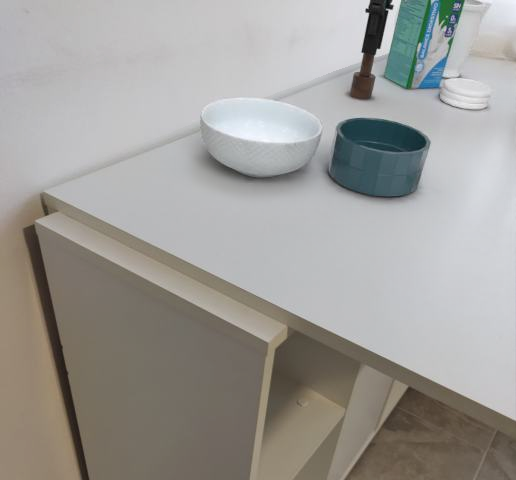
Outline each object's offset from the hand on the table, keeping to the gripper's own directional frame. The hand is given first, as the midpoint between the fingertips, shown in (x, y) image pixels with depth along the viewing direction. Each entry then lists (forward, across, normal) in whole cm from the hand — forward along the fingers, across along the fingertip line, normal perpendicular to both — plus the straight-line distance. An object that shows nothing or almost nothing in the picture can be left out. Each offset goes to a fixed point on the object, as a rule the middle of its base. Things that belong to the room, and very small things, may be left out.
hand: (371, 50), depth 103 cm
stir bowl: (+8, +39, +9) cm, 41 cm away
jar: (+9, -31, +14) cm, 35 cm away
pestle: (+9, 0, 0) cm, 9 cm away
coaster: (+9, -10, +20) cm, 24 cm away
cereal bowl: (+9, +44, -7) cm, 45 cm away
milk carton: (+9, -18, +8) cm, 22 cm away
